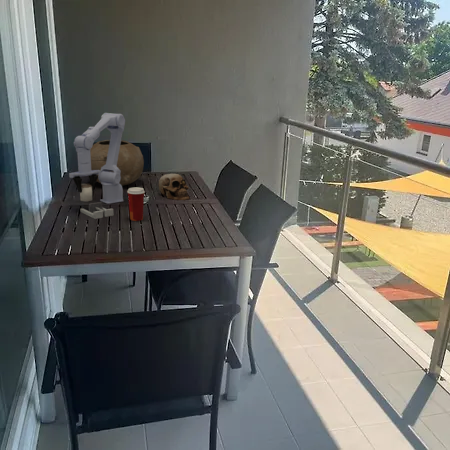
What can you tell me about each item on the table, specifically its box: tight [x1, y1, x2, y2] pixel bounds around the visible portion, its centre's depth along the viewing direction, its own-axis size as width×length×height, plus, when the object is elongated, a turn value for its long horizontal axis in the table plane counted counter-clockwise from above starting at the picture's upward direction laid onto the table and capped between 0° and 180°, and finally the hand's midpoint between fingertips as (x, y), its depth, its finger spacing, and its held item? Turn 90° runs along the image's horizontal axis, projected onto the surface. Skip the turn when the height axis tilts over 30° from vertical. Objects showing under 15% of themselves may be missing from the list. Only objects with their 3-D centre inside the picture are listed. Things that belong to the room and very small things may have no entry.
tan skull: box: [158, 173, 190, 201], centre depth 244 cm, size 16×17×13 cm
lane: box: [80, 207, 114, 220], centre depth 209 cm, size 9×14×3 cm
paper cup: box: [126, 187, 146, 222], centre depth 202 cm, size 8×8×14 cm
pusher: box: [88, 201, 104, 213], centre depth 207 cm, size 6×7×5 cm
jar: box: [79, 183, 93, 202], centre depth 211 cm, size 6×6×7 cm
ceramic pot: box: [90, 139, 145, 187], centre depth 263 cm, size 33×34×25 cm
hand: (86, 191), depth 211 cm, fingers open, 5 cm apart
